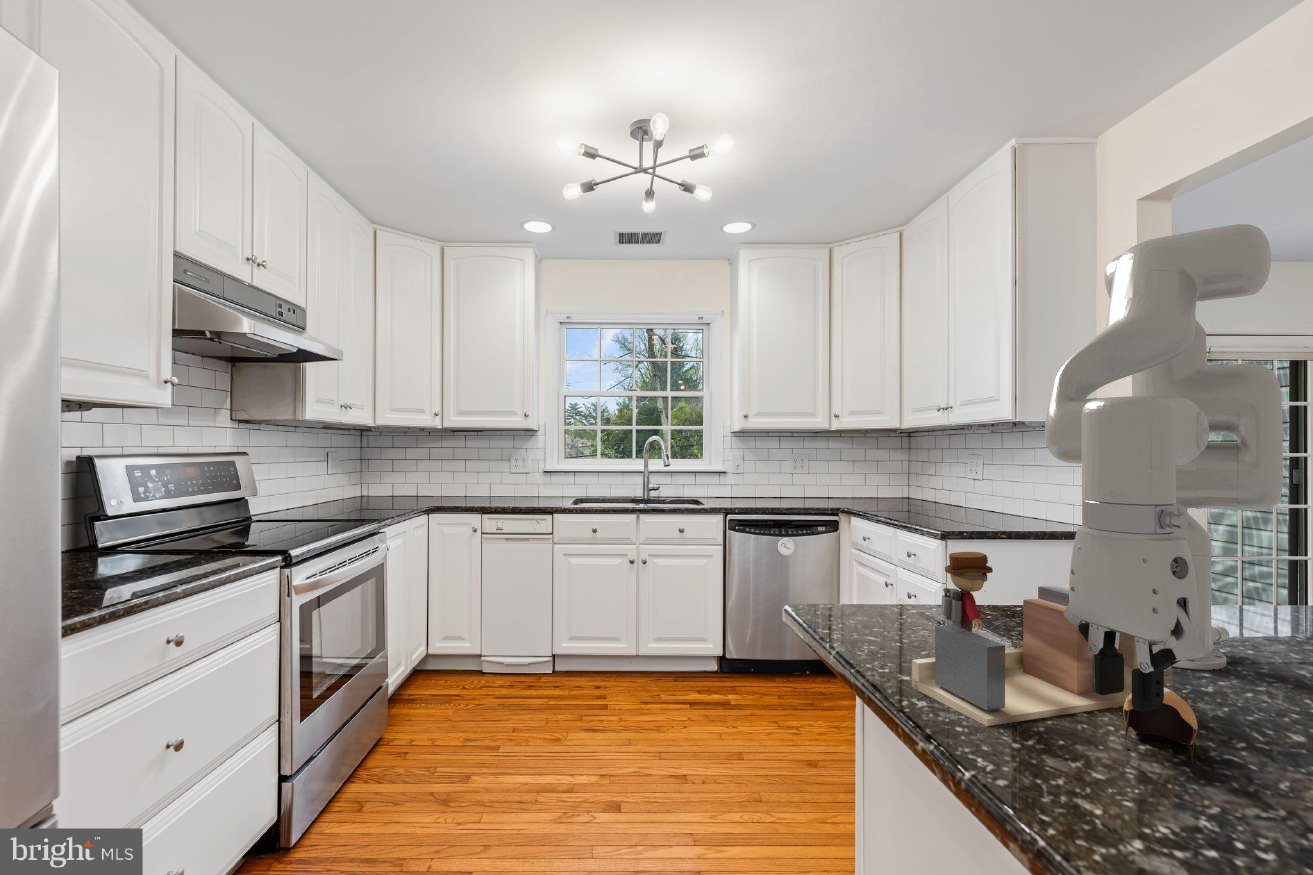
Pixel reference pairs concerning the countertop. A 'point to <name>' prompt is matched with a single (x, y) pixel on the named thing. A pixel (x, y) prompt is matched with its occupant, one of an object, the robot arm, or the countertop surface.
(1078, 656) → the book rack
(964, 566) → the toy
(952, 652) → the bookend
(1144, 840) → the countertop surface
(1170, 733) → the helmet
